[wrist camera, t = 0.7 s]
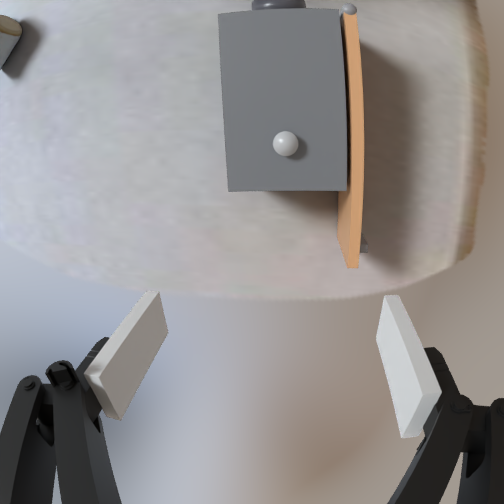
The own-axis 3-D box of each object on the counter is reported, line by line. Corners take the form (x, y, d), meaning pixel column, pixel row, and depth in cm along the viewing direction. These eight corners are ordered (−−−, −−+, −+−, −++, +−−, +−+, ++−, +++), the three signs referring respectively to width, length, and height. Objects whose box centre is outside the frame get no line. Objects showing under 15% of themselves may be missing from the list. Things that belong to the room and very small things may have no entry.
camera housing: (234, 21, 27) (215, -8, 19) (327, 18, 26) (337, -13, 18) (242, 176, 34) (226, 193, 26) (334, 175, 33) (348, 193, 25)
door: (331, 28, 26) (341, 2, 19) (350, 29, 26) (366, 4, 18) (336, 237, 35) (346, 268, 28) (354, 237, 35) (368, 268, 27)
